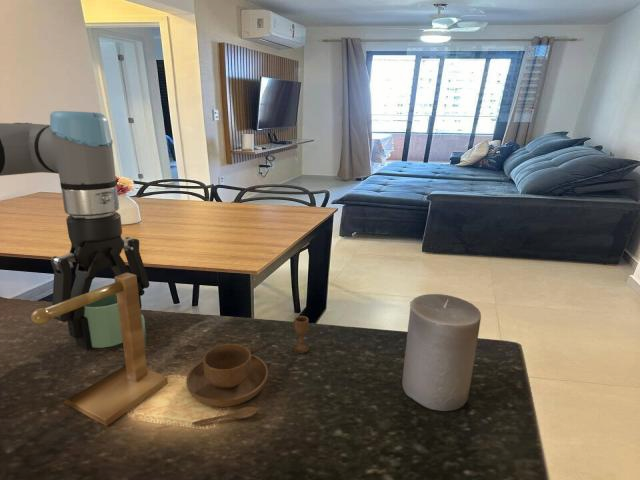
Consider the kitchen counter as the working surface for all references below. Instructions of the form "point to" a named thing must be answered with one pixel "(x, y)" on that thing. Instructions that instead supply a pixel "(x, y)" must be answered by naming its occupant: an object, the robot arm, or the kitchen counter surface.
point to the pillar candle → (440, 351)
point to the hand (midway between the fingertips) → (111, 339)
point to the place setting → (234, 375)
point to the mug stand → (134, 378)
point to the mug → (106, 322)
